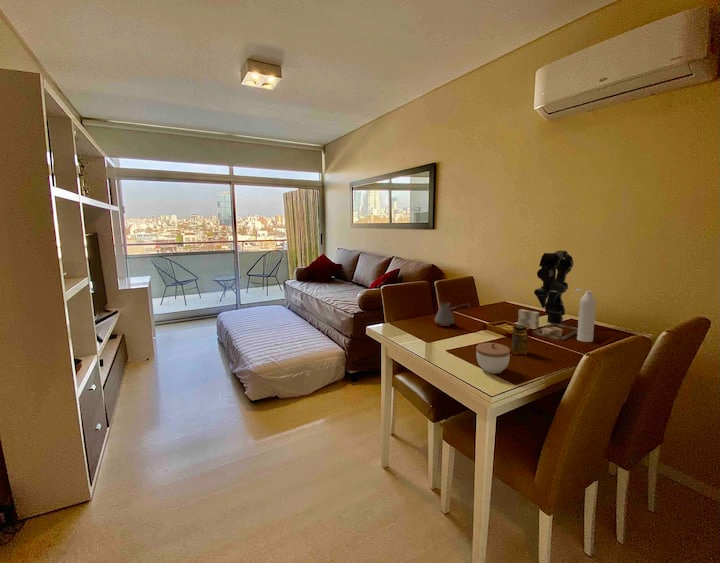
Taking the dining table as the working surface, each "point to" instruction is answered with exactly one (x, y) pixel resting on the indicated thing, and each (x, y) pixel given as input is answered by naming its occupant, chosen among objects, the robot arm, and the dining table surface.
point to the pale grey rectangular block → (528, 318)
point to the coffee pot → (446, 313)
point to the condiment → (519, 339)
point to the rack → (554, 336)
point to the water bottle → (586, 317)
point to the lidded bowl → (492, 357)
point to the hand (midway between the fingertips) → (547, 306)
